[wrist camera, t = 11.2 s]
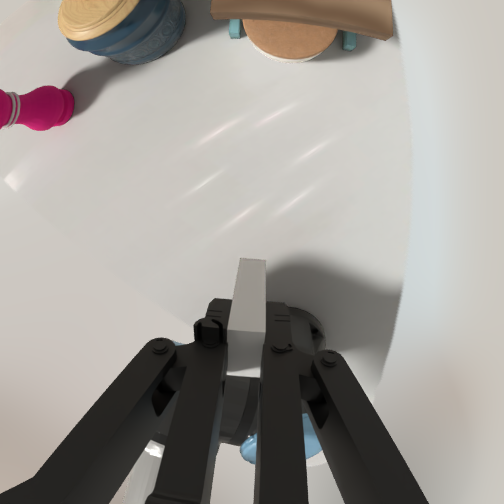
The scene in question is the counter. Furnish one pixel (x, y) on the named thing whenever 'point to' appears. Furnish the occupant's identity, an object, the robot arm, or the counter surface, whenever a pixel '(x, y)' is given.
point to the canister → (123, 27)
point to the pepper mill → (36, 108)
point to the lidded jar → (288, 39)
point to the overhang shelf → (312, 15)
